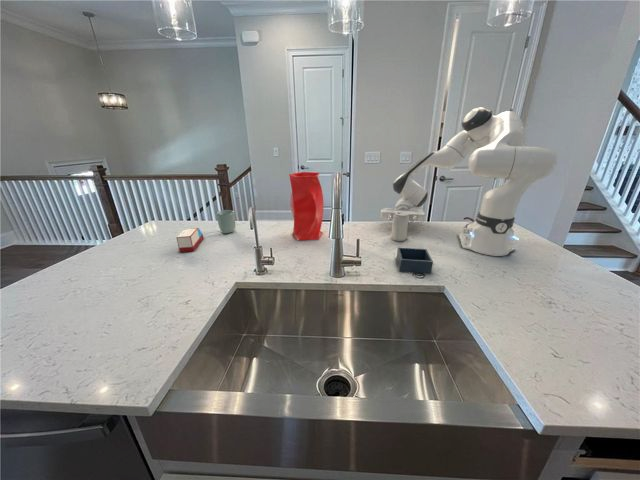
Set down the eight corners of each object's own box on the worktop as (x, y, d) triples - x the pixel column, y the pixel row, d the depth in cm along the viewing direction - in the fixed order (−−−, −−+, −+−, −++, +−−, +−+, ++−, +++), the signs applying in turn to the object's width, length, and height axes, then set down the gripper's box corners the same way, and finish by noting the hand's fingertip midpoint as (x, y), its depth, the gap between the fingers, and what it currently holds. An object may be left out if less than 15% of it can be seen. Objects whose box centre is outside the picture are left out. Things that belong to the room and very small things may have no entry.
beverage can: (396, 235, 119) (398, 210, 115) (409, 239, 115) (412, 213, 110) (388, 239, 115) (391, 213, 111) (401, 243, 111) (404, 216, 106)
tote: (396, 258, 98) (397, 247, 96) (424, 260, 96) (426, 249, 94) (399, 271, 88) (401, 259, 86) (431, 273, 87) (433, 261, 85)
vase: (313, 228, 130) (312, 171, 119) (330, 236, 119) (330, 174, 108) (286, 234, 122) (282, 174, 112) (301, 244, 111) (298, 178, 100)
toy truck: (203, 237, 120) (200, 224, 117) (193, 251, 106) (190, 236, 103) (191, 238, 119) (188, 225, 117) (179, 252, 105) (175, 237, 103)
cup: (216, 234, 124) (213, 214, 120) (225, 228, 131) (221, 209, 127) (232, 235, 123) (228, 214, 119) (239, 229, 130) (236, 210, 126)
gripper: (382, 203, 133) (379, 211, 121) (425, 206, 126) (425, 214, 114) (381, 215, 135) (378, 223, 123) (423, 219, 129) (423, 228, 117)
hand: (401, 219), depth 119 cm, fingers open, 8 cm apart
